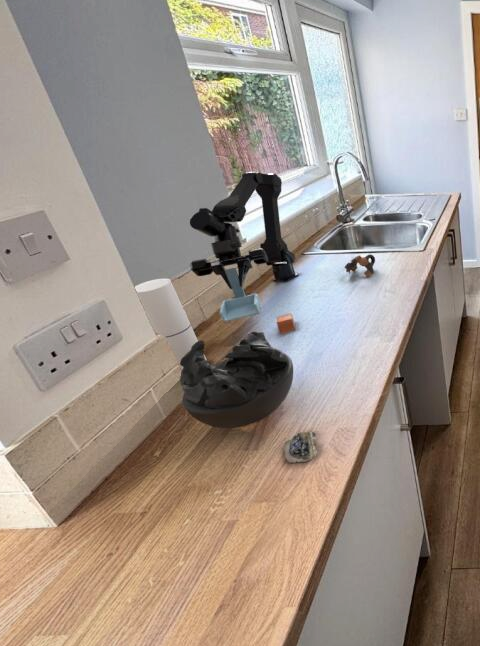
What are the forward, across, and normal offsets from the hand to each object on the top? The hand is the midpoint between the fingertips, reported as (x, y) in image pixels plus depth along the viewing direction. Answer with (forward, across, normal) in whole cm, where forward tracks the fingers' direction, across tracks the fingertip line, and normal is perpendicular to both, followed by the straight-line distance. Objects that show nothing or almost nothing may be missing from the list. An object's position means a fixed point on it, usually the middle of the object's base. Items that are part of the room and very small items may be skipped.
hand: (236, 287), depth 119 cm
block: (+13, +10, +3) cm, 17 cm away
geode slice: (+52, +12, -34) cm, 64 cm away
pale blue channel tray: (+7, 0, +2) cm, 8 cm away
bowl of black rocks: (+41, +3, -22) cm, 47 cm away
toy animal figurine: (-5, +37, +24) cm, 44 cm away
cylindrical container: (+22, -12, -3) cm, 25 cm away
